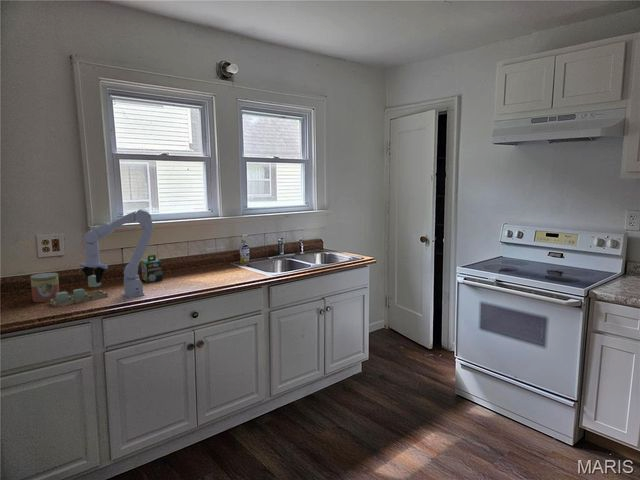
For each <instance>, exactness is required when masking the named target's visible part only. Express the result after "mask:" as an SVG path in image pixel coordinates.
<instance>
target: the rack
mask: <svg viewBox="0 0 640 480" xmlns="http://www.w3.org/2000/svg"><path fill="white" fill-rule="evenodd" d="M68 296H69V300H66V301H61V302H56V298H55V299H50V301H49V304H51V306H53V307H54V308H58V307H64V306H68V305H72V304H73V305H74V304H78V303H83V302H89V301H92V300H98V299H103V298H108V297H109V296H108V292H106V291H103V290H101V289H99V290H94V291H87V292H85V296H86V297H82V298H77V299H74V298H73V294H72V295H68Z"/></svg>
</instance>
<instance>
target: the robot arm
mask: <svg viewBox="0 0 640 480" xmlns="http://www.w3.org/2000/svg"><path fill="white" fill-rule="evenodd" d="M129 222H131V223H135V222H137V223H138V224H139V225H140V227H141V229H142V233H141V234H140V237H139V239H138V242H137V244H136V246H135V249H134V251H133V254H132V255H131V258H130V260H129V263H128V264H126V265H125V267H124V269H123V288H124V292H122V293H121V295H122V296H125V297H126V298H135V297H140V296H145V295H146V293H144V289H143V288H144V287H143V285H144V284H143V282H142V280H140V275H139V274H138V271H139V265H140V263H141V261H142V258H143V256H144V254H145V251H146V249H147V246H148V244H149V241H150V239H151V237H152V234H153V232H154V229H155V227H154V224H153V219H152V215H151V214H150V212H149V211H148V210H147V209H145V208H140V209H137V211H136V210H134V211H132V212H130V213H127V214H125V215H124V216H122V217H120V218H118V219H116V220H115V221H113V222H101V225H99V226H97V227H93V228H91V230H88V231H87V232H85V234H84V236H83V239H84V242H85V243H84V244H85V257H86V258H85V259H86V261H85V262H80V263H78V268H82V269H81V271H82V272H83V273H84V275H85V277H86V279H87V281H88V276H91V275H96V282H97V283H99V282H101V283H102V279H103V278H102V277H103V274H104V272H105V270H106V269H109V263H101V261H100V260H101V259H100V257H101V256H100V246H99V240H101V239H104V238H105V237H107V236H109V235H111V234H113V233H114V230H115V229H117V228H119V227H121V226H123V225H126V224H127V223H129ZM93 273H94V274H93Z"/></svg>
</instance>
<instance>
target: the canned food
mask: <svg viewBox="0 0 640 480" xmlns="http://www.w3.org/2000/svg"><path fill="white" fill-rule="evenodd" d="M30 285H31V286H30V287H31V295H32V301H33V302H35V303H45V302H50V299H55V298H56V293H59V292H60V282H59V273H58V272H42V273H41V272H40V273H35V274H32V275H30Z"/></svg>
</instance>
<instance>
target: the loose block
mask: <svg viewBox="0 0 640 480" xmlns="http://www.w3.org/2000/svg"><path fill="white" fill-rule="evenodd" d="M87 284H88V286H87V287H90V288H93V287H94V288H97V287H99V286H102V281H101V282H99V283H97V282H96V275H95V274H93V275H91V276H88V280H87Z"/></svg>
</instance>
